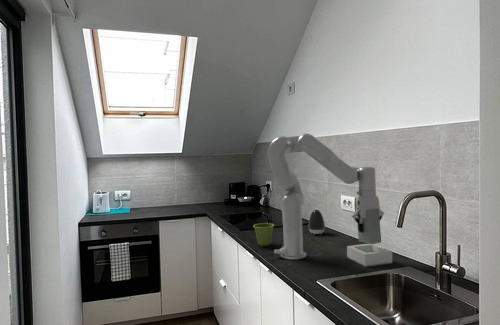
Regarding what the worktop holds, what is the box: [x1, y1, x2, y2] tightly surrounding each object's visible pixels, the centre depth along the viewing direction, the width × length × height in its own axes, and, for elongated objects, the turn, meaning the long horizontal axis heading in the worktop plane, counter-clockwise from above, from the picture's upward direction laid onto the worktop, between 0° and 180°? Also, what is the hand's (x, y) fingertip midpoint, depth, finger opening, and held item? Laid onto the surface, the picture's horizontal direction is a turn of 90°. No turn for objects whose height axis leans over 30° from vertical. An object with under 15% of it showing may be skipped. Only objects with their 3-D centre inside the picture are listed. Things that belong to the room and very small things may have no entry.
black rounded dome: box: [308, 209, 326, 235], centre depth 221 cm, size 10×10×15 cm
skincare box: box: [356, 209, 382, 245], centre depth 164 cm, size 8×7×16 cm
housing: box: [346, 243, 393, 268], centre depth 164 cm, size 14×15×6 cm
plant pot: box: [252, 222, 275, 246], centre depth 198 cm, size 12×12×11 cm
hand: (368, 230), depth 164 cm, fingers closed on skincare box, 7 cm apart
